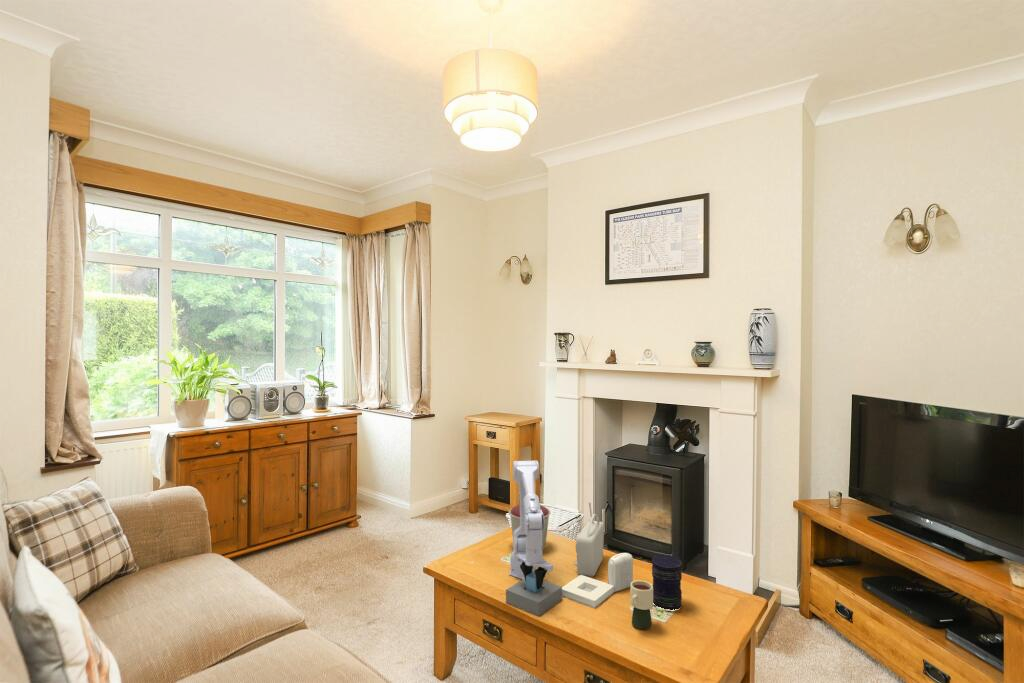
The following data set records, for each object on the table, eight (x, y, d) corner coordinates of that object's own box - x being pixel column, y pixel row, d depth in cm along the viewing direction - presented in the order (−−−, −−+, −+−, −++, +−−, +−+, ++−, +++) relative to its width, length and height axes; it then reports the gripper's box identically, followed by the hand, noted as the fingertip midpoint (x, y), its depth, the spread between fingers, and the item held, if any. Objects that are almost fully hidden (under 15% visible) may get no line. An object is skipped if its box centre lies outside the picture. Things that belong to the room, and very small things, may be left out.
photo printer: (626, 581, 196) (626, 549, 196) (634, 586, 192) (634, 552, 192) (606, 588, 190) (606, 555, 190) (614, 593, 187) (614, 559, 187)
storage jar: (650, 608, 177) (650, 564, 177) (653, 595, 186) (653, 553, 186) (680, 614, 173) (680, 569, 173) (682, 600, 182) (682, 557, 182)
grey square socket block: (505, 602, 180) (505, 589, 180) (529, 587, 191) (529, 575, 191) (538, 616, 172) (538, 602, 171) (561, 599, 182) (561, 586, 182)
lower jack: (560, 595, 185) (560, 588, 185) (580, 581, 196) (580, 574, 196) (594, 608, 177) (594, 601, 176) (614, 592, 187) (614, 585, 187)
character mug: (640, 615, 172) (640, 576, 172) (660, 623, 167) (660, 583, 167) (622, 628, 165) (622, 587, 164) (642, 637, 160) (642, 595, 159)
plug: (526, 598, 181) (526, 575, 181) (533, 593, 185) (533, 571, 185) (535, 602, 179) (535, 579, 178) (543, 597, 182) (543, 574, 182)
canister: (537, 561, 214) (537, 510, 214) (500, 551, 224) (500, 502, 223) (557, 546, 229) (557, 499, 229) (522, 538, 239) (523, 492, 239)
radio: (585, 554, 221) (585, 495, 220) (604, 557, 218) (604, 498, 217) (571, 576, 200) (572, 511, 200) (593, 580, 197) (593, 514, 197)
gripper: (510, 545, 183) (510, 584, 183) (544, 556, 174) (544, 597, 174) (522, 539, 188) (522, 577, 188) (556, 549, 179) (556, 589, 179)
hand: (534, 586), depth 181 cm, fingers closed on plug, 4 cm apart
